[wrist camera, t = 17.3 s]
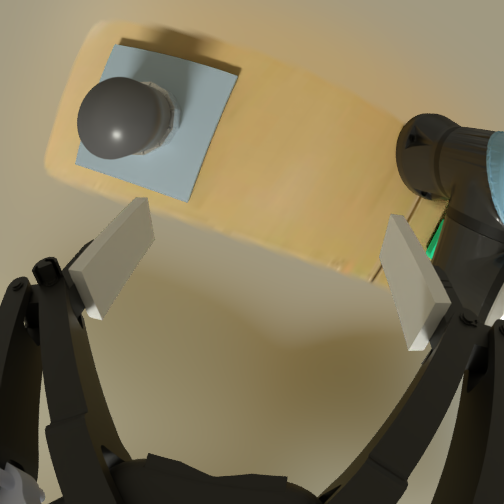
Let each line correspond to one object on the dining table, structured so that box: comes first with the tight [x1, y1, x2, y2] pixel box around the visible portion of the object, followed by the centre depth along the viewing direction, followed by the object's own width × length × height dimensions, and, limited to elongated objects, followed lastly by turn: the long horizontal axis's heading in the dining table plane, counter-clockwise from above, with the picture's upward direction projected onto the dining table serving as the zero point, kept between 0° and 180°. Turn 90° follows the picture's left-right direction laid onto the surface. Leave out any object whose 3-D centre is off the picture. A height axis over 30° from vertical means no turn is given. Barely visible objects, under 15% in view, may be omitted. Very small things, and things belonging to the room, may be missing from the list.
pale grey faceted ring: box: [132, 82, 182, 155], centre depth 35 cm, size 10×10×4 cm
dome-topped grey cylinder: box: [77, 77, 171, 160], centre depth 31 cm, size 9×9×12 cm
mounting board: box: [75, 44, 238, 203], centre depth 38 cm, size 20×20×2 cm
